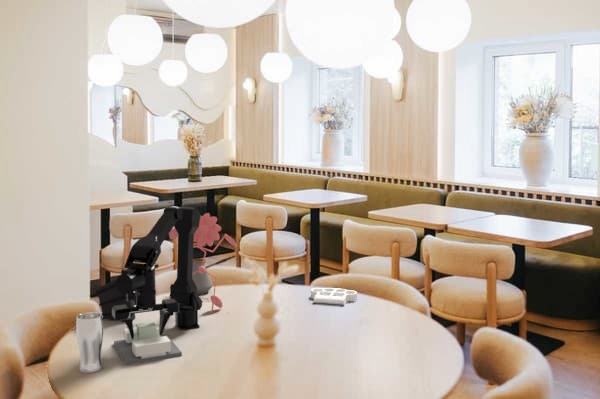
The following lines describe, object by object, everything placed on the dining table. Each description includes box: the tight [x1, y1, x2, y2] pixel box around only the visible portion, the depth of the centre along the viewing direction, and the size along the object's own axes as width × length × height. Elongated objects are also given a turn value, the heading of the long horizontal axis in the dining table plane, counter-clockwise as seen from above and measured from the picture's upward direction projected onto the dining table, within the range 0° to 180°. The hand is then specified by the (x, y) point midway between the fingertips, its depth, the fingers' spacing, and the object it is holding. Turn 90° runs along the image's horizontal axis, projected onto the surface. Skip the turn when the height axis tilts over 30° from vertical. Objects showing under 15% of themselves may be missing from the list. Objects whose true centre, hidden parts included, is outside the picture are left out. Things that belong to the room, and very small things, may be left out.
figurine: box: [168, 212, 238, 315], centre depth 227 cm, size 15×26×35 cm, turn 81°
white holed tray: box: [310, 287, 358, 306], centre depth 240 cm, size 3×18×15 cm
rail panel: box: [113, 323, 183, 366], centre depth 185 cm, size 16×18×5 cm
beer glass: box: [75, 311, 104, 374], centre depth 170 cm, size 7×7×15 cm
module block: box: [135, 321, 157, 340], centre depth 185 cm, size 5×4×6 cm
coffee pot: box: [192, 254, 238, 295], centre depth 249 cm, size 21×12×15 cm, turn 89°
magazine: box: [94, 279, 136, 322], centre depth 214 cm, size 4×13×15 cm, turn 82°
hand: (146, 337), depth 185 cm, fingers open, 8 cm apart
